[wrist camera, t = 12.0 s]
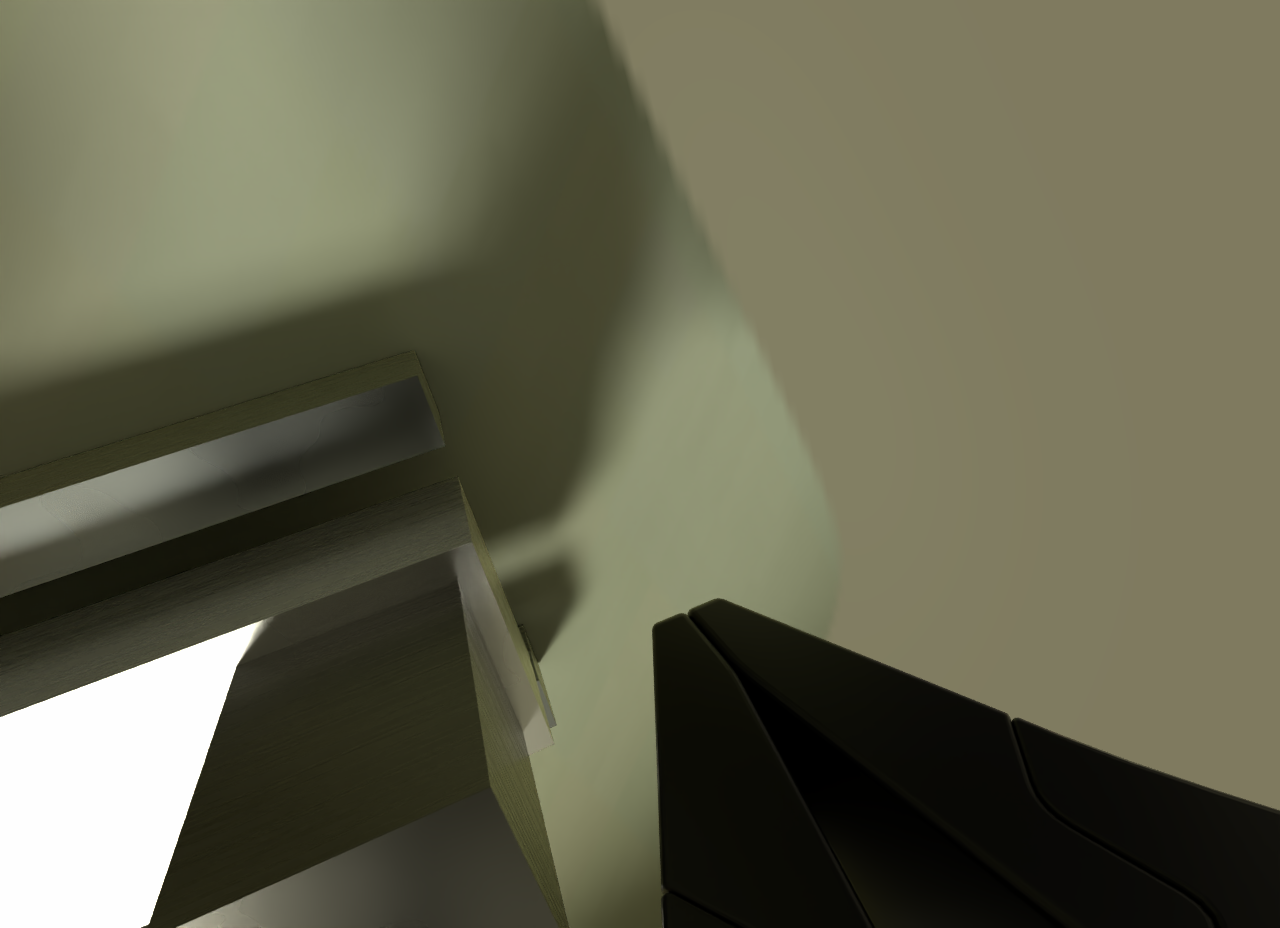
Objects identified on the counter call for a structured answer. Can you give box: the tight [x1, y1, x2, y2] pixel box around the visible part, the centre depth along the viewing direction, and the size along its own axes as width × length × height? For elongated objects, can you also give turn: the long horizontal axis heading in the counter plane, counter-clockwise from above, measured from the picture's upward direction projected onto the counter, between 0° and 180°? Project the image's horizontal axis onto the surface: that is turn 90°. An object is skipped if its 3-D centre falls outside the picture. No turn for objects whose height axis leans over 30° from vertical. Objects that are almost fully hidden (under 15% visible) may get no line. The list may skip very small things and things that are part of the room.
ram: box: [0, 476, 569, 928], centre depth 7 cm, size 3×9×5 cm, turn 104°
